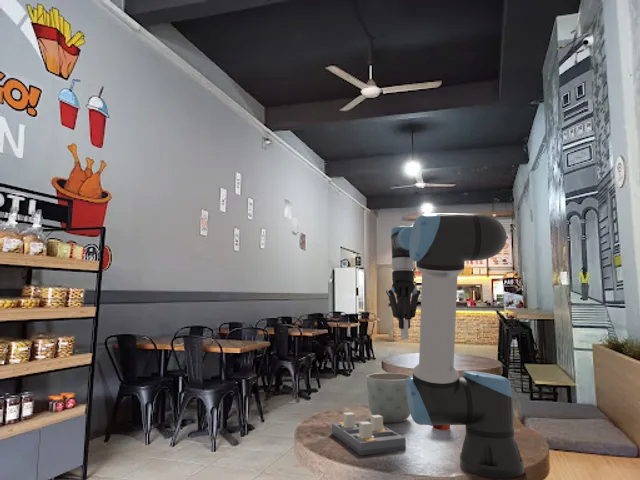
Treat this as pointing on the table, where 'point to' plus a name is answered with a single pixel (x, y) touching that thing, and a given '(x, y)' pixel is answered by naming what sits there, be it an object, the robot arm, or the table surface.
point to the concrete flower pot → (388, 396)
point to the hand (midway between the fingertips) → (404, 338)
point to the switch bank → (369, 439)
